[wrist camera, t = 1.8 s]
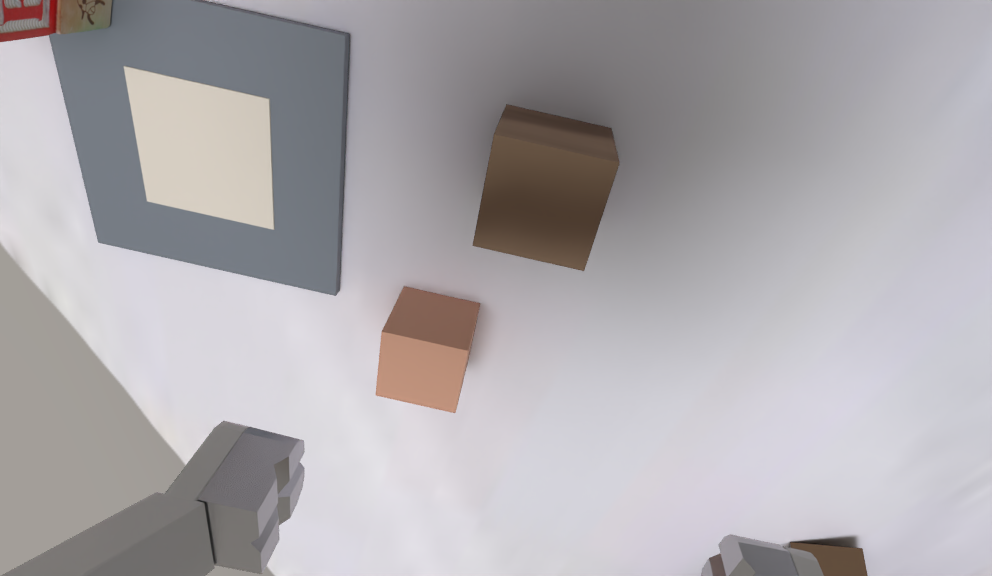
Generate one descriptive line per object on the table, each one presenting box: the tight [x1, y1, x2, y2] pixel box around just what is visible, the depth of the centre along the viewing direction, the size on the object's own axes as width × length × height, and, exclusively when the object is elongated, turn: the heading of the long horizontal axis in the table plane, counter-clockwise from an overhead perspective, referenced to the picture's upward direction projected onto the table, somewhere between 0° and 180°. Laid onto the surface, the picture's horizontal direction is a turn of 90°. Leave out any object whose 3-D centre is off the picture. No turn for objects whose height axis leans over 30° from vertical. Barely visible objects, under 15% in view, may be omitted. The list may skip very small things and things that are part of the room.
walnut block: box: [473, 104, 620, 271], centre depth 24 cm, size 5×5×5 cm
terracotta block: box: [376, 286, 480, 413], centre depth 30 cm, size 4×4×4 cm
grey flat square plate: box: [49, 0, 350, 296], centre depth 28 cm, size 14×14×1 cm
